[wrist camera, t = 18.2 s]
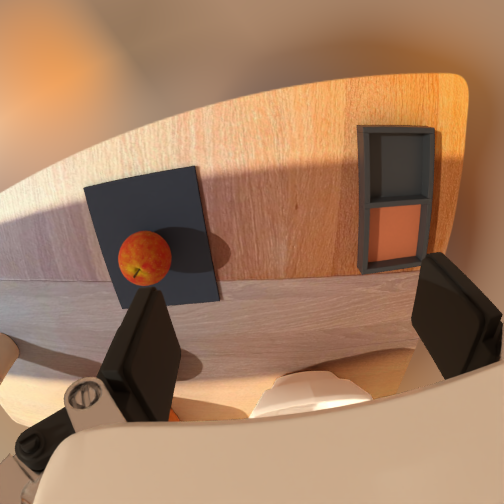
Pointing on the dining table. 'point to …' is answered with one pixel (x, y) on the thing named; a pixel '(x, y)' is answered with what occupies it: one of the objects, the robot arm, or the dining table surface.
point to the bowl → (308, 394)
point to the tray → (394, 195)
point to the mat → (156, 231)
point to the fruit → (144, 258)
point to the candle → (7, 355)
